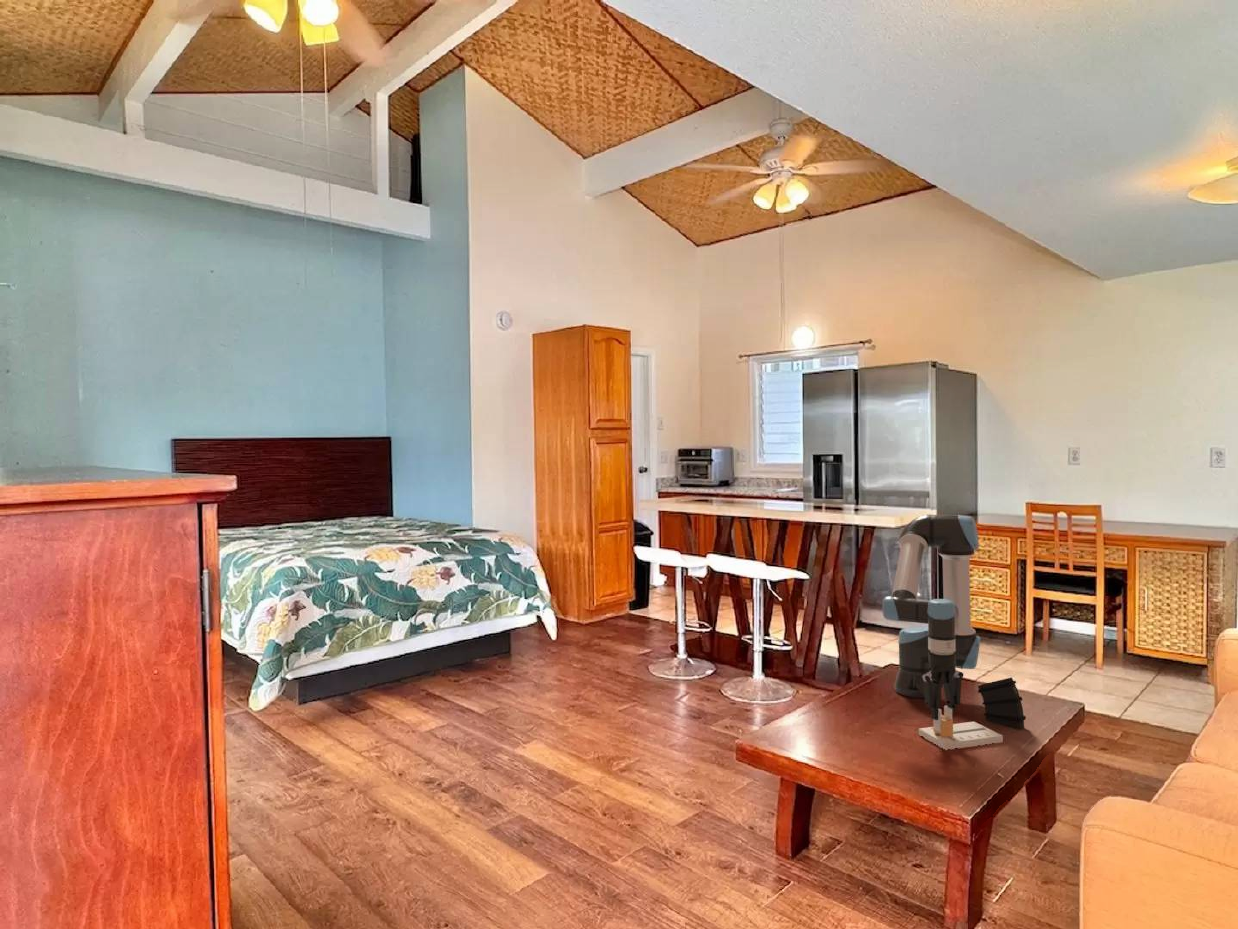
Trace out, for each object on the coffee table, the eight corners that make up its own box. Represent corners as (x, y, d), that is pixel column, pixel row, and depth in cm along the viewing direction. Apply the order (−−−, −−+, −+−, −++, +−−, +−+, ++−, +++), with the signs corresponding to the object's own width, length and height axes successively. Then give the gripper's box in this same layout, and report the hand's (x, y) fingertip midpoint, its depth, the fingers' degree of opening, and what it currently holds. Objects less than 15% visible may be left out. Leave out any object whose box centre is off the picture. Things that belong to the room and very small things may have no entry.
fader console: (918, 735, 223) (918, 728, 223) (974, 727, 228) (974, 721, 228) (945, 750, 212) (945, 743, 212) (1002, 742, 216) (1002, 735, 216)
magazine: (1030, 728, 223) (1008, 679, 228) (991, 735, 232) (970, 688, 237) (1036, 725, 225) (1013, 676, 230) (997, 732, 235) (976, 685, 240)
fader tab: (933, 731, 221) (932, 714, 221) (941, 730, 221) (941, 713, 221) (944, 737, 216) (944, 720, 215) (953, 736, 216) (953, 719, 216)
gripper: (926, 657, 213) (928, 737, 213) (973, 652, 216) (974, 730, 217) (910, 650, 220) (911, 727, 220) (956, 646, 224) (957, 722, 224)
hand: (943, 729), depth 218 cm, fingers closed on fader tab, 3 cm apart
